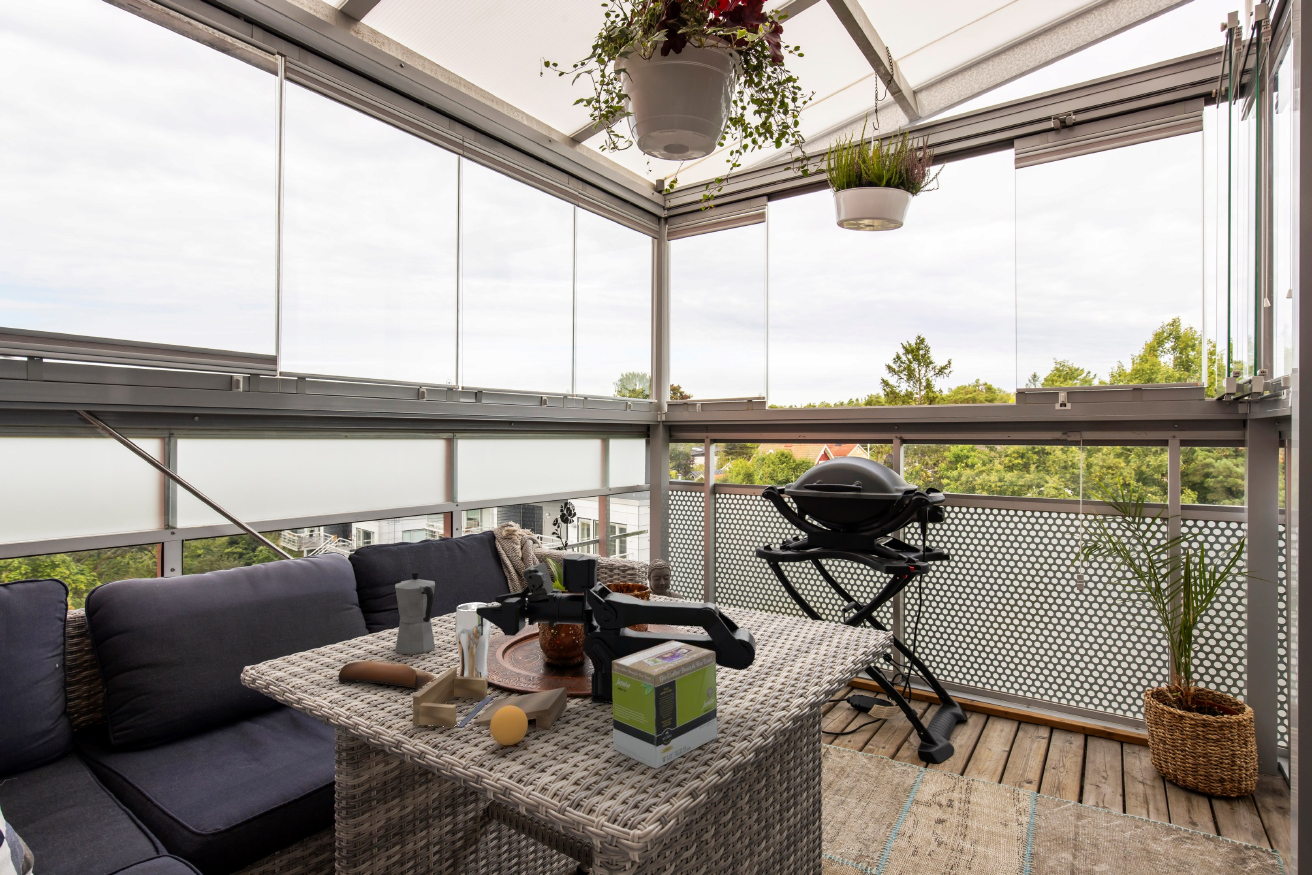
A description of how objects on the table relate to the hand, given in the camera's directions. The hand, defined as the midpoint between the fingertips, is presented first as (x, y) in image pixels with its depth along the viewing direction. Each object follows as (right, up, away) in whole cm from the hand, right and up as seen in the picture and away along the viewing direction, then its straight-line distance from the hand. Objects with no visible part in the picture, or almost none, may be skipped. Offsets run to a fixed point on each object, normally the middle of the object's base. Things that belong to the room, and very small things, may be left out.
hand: (486, 604), depth 136 cm
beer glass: (-4, -17, +5) cm, 18 cm away
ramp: (+9, -17, -13) cm, 23 cm away
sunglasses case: (-21, -17, +5) cm, 28 cm away
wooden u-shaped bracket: (-4, -17, -10) cm, 20 cm away
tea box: (+35, -17, -24) cm, 46 cm away
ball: (+9, -17, -24) cm, 31 cm away
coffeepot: (-22, -16, +24) cm, 37 cm away
